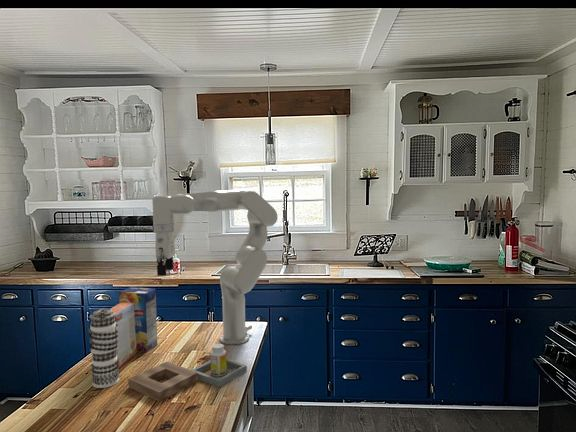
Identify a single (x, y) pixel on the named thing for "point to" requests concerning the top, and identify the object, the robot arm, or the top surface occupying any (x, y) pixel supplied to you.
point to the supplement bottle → (218, 360)
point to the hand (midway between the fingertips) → (165, 272)
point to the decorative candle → (104, 348)
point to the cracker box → (125, 331)
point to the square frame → (219, 382)
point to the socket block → (161, 391)
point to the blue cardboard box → (143, 316)
